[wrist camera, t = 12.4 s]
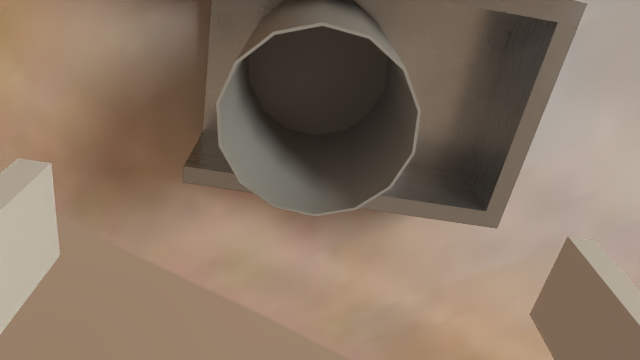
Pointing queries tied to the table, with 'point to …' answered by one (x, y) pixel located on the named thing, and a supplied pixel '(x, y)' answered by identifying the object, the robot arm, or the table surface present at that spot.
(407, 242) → the table surface
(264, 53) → the cup
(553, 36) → the silver open box
